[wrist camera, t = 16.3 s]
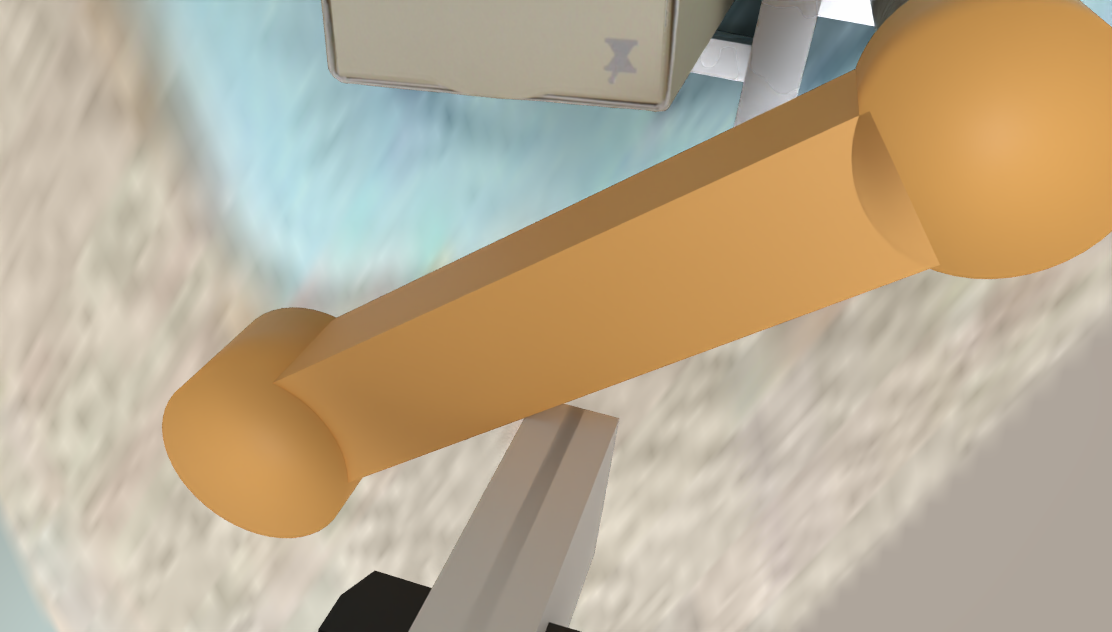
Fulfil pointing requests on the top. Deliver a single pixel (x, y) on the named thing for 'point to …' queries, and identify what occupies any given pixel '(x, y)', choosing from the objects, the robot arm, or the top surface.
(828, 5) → the bracket
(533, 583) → the robot arm
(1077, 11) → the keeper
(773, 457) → the top surface
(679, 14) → the skincare box
